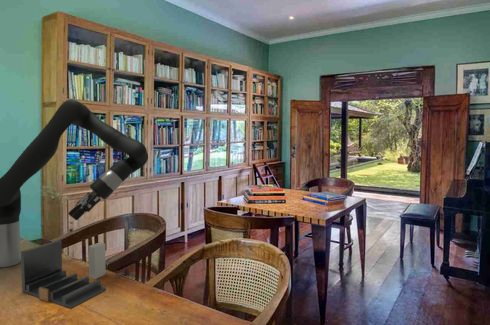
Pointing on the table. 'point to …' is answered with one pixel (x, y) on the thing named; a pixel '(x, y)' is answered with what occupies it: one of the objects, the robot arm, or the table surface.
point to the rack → (54, 277)
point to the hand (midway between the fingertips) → (72, 217)
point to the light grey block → (97, 260)
